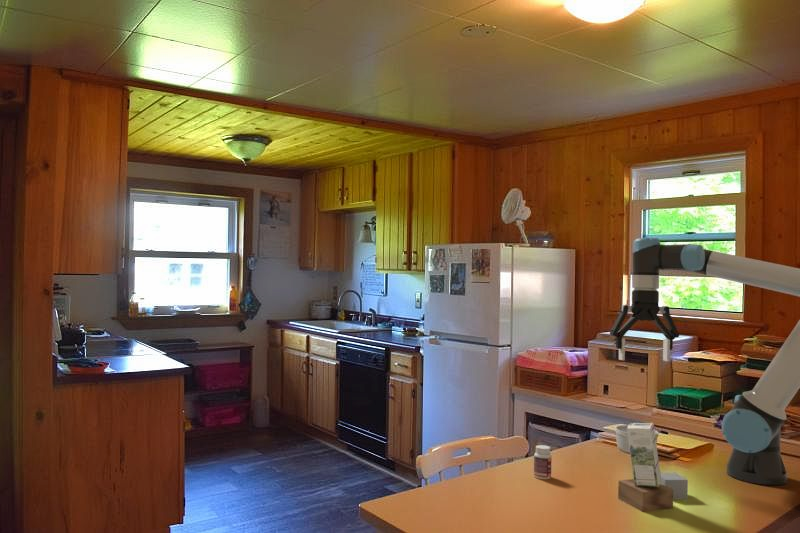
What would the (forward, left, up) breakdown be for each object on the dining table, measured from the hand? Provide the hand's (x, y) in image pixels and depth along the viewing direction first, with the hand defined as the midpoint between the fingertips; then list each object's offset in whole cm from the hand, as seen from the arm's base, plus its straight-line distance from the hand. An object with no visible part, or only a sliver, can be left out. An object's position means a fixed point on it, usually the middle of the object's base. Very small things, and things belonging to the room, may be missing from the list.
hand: (643, 360), depth 186 cm
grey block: (+3, +24, -32) cm, 40 cm away
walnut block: (+13, +31, -32) cm, 46 cm away
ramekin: (-6, -18, -32) cm, 37 cm away
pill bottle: (+33, +11, -32) cm, 47 cm away
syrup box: (+12, +31, -27) cm, 43 cm away
